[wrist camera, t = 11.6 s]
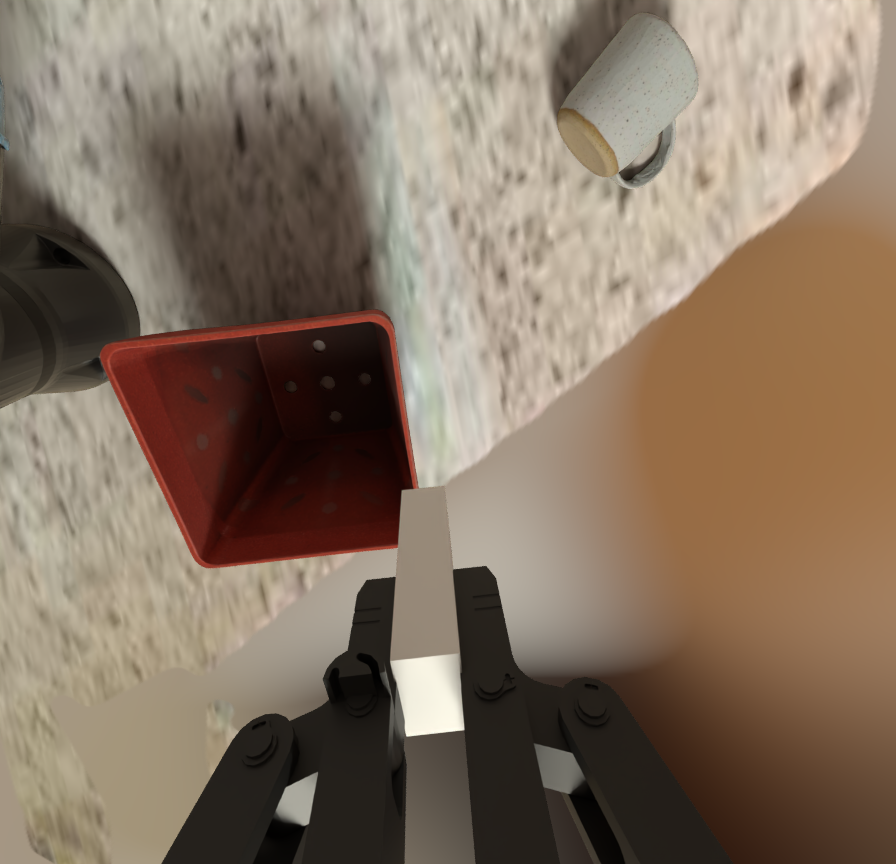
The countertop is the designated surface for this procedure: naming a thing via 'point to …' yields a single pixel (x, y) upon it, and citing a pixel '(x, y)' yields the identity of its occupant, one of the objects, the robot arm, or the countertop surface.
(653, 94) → the ceramic mug
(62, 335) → the robot arm
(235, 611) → the countertop surface
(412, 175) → the countertop surface
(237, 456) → the plant pot
